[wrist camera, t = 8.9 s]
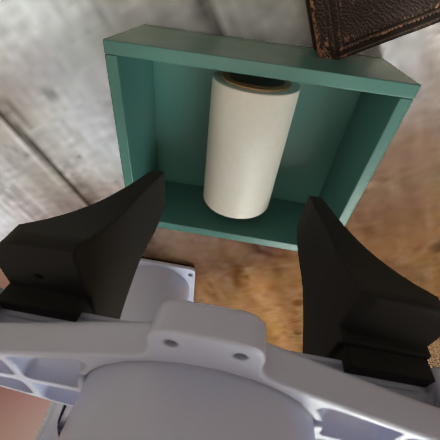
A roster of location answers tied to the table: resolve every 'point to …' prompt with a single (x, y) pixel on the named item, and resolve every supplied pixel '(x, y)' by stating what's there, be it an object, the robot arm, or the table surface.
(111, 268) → the robot arm
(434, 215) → the table surface
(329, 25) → the hardcover book
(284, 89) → the paper roll
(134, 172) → the open storage box
